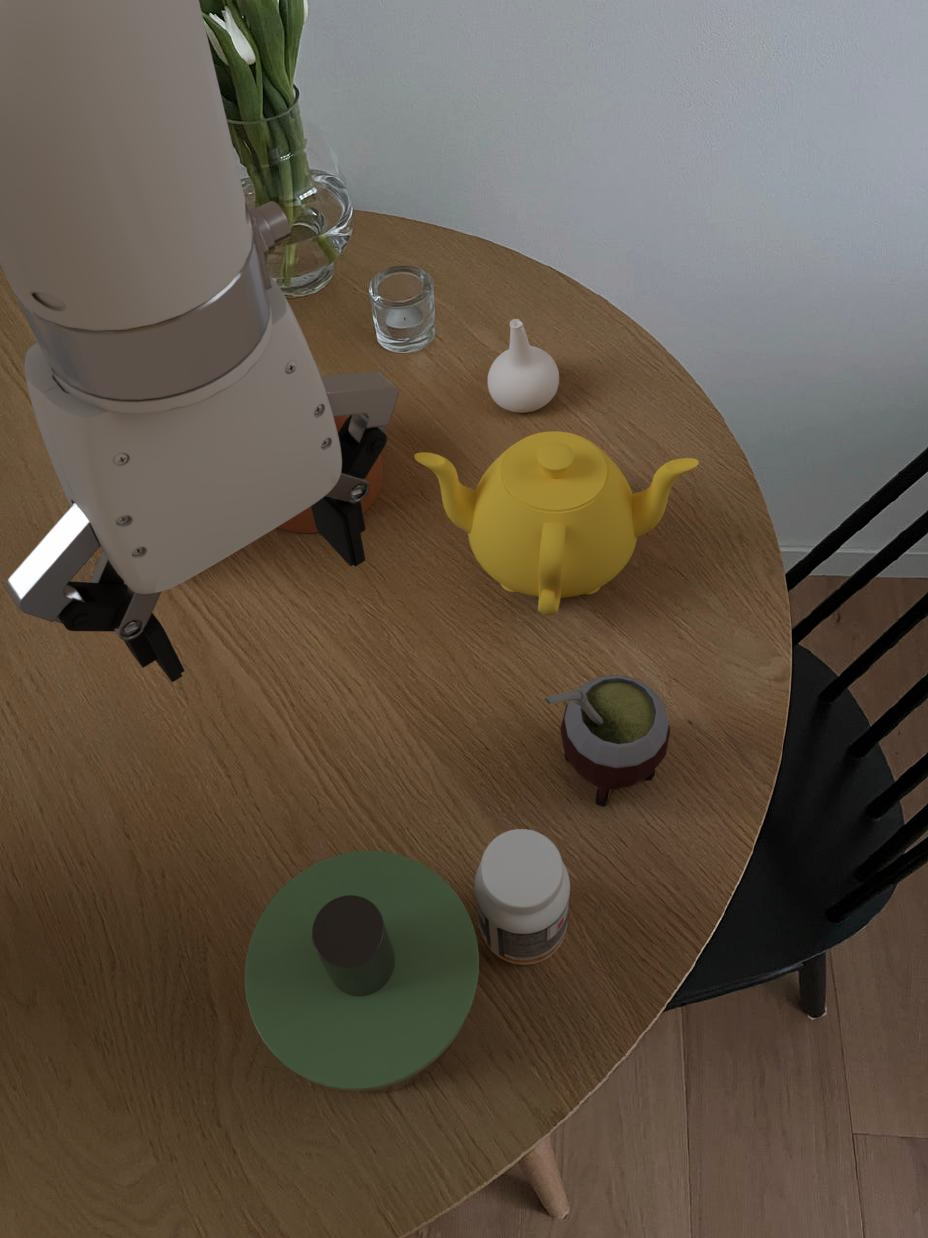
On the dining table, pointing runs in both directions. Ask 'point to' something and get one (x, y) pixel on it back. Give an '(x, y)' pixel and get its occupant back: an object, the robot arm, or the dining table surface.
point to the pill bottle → (522, 897)
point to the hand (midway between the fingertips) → (254, 600)
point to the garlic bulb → (522, 374)
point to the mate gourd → (613, 732)
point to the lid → (362, 970)
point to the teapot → (553, 514)
